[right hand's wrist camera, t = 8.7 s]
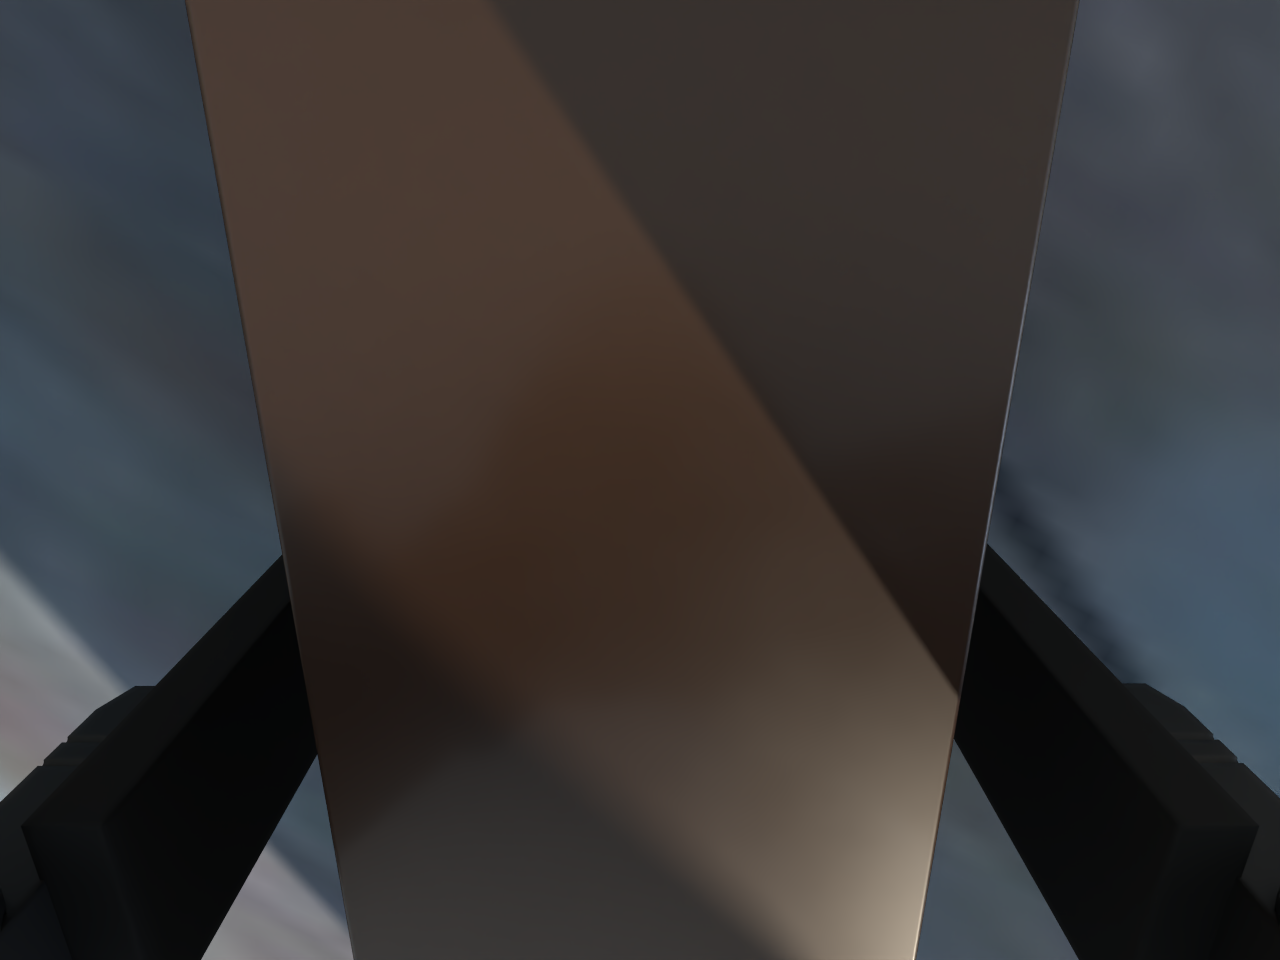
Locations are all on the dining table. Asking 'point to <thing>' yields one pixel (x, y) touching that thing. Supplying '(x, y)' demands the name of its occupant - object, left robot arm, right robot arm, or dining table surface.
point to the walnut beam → (633, 443)
